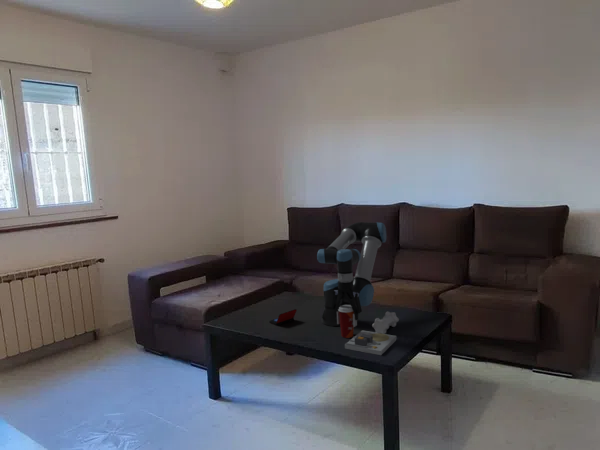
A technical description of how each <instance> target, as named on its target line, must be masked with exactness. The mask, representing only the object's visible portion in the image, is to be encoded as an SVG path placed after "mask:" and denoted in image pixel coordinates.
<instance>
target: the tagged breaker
mask: <svg viewBox="0 0 600 450" xmlns="http://www.w3.org/2000/svg"><path fill="white" fill-rule="evenodd" d="M355 345H360V346H366V345H367V338H364V337H358V336H357V337H356V338H355Z"/></svg>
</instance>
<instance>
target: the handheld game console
mask: <svg viewBox="0 0 600 450" xmlns="http://www.w3.org/2000/svg"><path fill="white" fill-rule="evenodd" d="M296 313H297V309H296V308H294V309H292V310H289V311H285V312H283V313H280V314H279V315H278V317H276V318H275V319H271V320H269V324H272V325H274V326H279V325H283V324H285V323H288V322H291V321H294V320H295V319H294V318H295V316H296Z"/></svg>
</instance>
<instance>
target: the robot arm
mask: <svg viewBox="0 0 600 450" xmlns="http://www.w3.org/2000/svg"><path fill="white" fill-rule="evenodd" d="M355 242H356V243H357V242H358V243H359V242H361V243H362V246H361V247H362V248H361V251H359V250H358V249H356V248H350V249H349V248H348V247H349V245H351V244H354V243H355ZM386 242H387V228H386V225H385V223H383V222H378V221H376V222H373V221H372V222H367V221H365V222H364V221H359V222H358V221H357V222H354V223H352V224H349V225H347V226H346V227H345V228H343V230H342V231H341V232H340V235H338V237H337V238H335V240H333V242H332V243H331V244H330V245H328V246H327V248H320V249H318V251H317V254H316V259H317V262H318V263H320V264H329V265H330V264H331V265H333V264H334V265H337V278H334V279H329V280H326V281H325V282H324V283H323V303H324V305H323V307H324V309H323V312H322V315H321V323H322V324H323V325H325V326H328V327H330V326H331V327H340V317H339V311H338V309H339V307H340V306H342V305H351V307H352V309H353V311H354V314H353V327H354V328H355V327H357V326H358V320H359V314H360V313H362V310H363V309H362V307H368V306H369V305H371V304H372V301H373V299H374V295H375V294H374V293H375V289H374V286H373V283H372V282H371V279H372V274H373V270H374V265H375V261H376V257H377V253H378V249H379V248H381V246H382V243H386ZM356 264H357V266H356V270H355V274H354V273H353V272H354V271H353V269H354V268H353V266H354V265H356ZM353 274H354V275H353Z"/></svg>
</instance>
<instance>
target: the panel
mask: <svg viewBox="0 0 600 450" xmlns="http://www.w3.org/2000/svg"><path fill="white" fill-rule="evenodd" d="M357 336H358V337H364V338H367V345H366V346H360V345H355V338H356V337H357ZM396 341H397V335H394V334H393V335H391V334H387V333H385V334H382V333H376V331H368V330H361V331H359V332H358V333H357V334H356V335H355V336H353V337H351V339H349V341H347V342H345V343H344V349H345V350H351V351H355V352H356V351H357V352H362V353H366V354H370V355H377V356H382V355H383V354H384V353H385V352H386V351H387V350H388V349H389V348H390V347H391V346H392V345H393V344H394V343H395V342H396Z"/></svg>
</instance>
